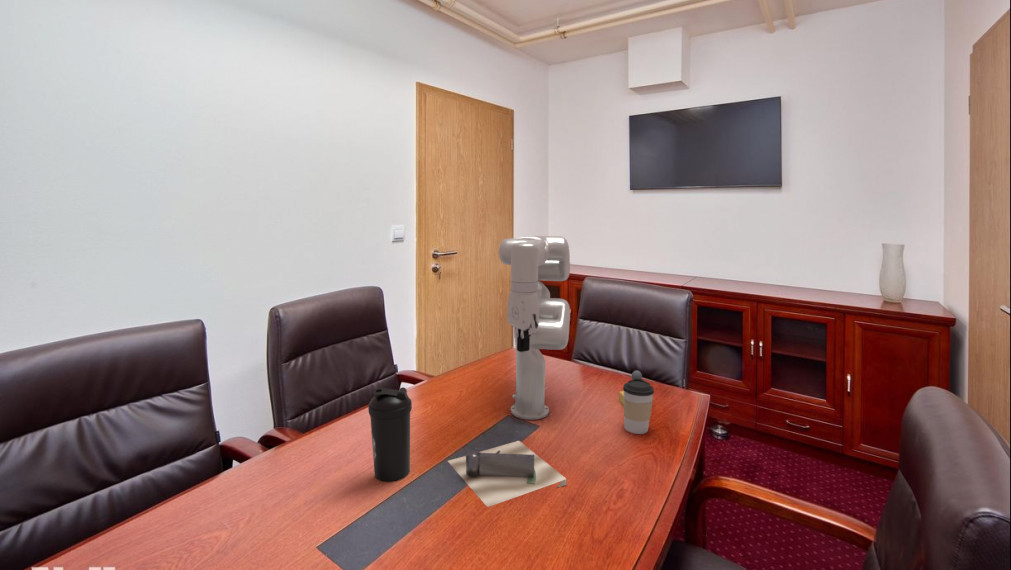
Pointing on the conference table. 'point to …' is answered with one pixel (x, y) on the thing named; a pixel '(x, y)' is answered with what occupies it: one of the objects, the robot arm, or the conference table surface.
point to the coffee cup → (637, 405)
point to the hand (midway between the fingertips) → (523, 350)
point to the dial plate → (508, 477)
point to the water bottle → (390, 433)
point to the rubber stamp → (635, 375)
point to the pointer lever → (499, 464)
